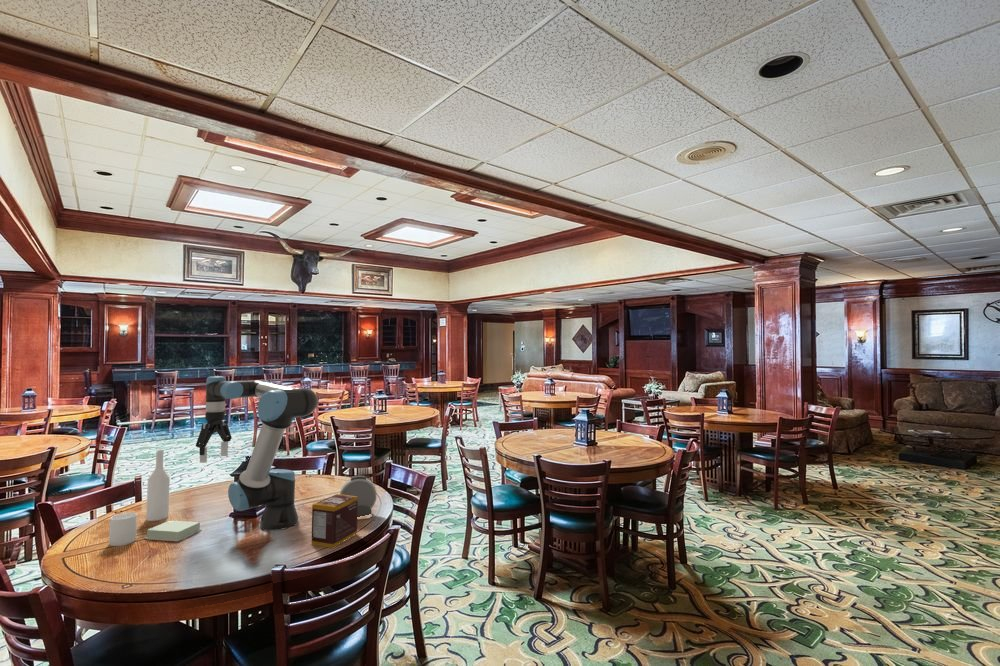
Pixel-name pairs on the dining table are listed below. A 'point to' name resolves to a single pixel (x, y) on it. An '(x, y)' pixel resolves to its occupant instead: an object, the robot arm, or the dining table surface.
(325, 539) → the supplement box
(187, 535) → the mat
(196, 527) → the board
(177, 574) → the dining table surface
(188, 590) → the dining table surface
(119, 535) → the cup
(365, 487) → the alarm clock
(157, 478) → the bottle
